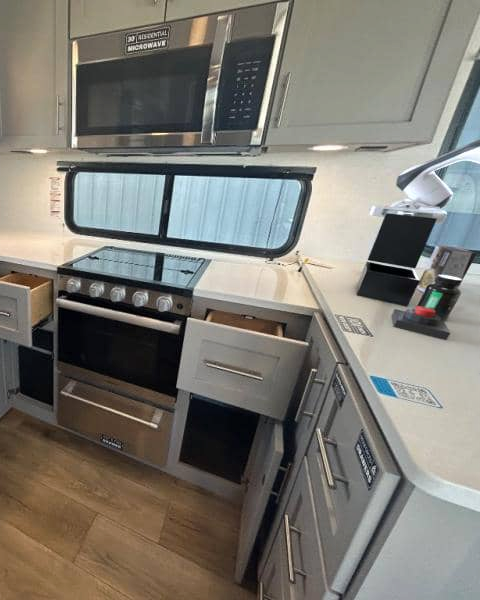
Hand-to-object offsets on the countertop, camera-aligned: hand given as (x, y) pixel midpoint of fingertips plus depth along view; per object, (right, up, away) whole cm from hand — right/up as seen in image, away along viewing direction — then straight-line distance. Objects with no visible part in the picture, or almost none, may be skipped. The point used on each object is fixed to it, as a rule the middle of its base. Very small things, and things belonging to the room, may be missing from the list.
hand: (407, 215), depth 115 cm
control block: (-24, -37, -27) cm, 52 cm away
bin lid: (-7, -10, -4) cm, 12 cm away
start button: (-24, -34, -28) cm, 50 cm away
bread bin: (-13, -28, -4) cm, 31 cm away
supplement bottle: (-12, -34, -19) cm, 41 cm away
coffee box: (+10, -27, +1) cm, 29 cm away
